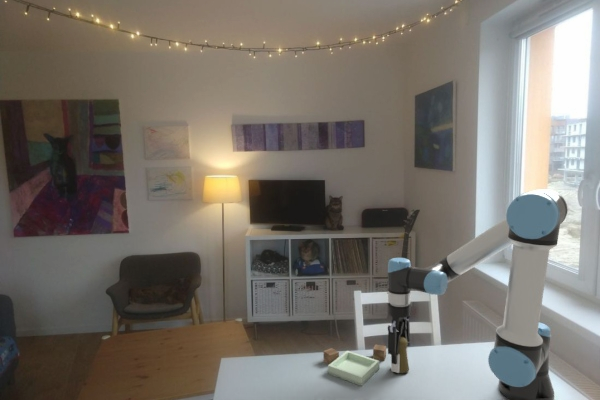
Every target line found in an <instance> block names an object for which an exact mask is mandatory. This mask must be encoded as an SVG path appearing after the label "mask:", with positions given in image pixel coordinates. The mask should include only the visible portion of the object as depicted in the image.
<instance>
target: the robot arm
mask: <svg viewBox="0 0 600 400" xmlns="http://www.w3.org/2000/svg"><path fill="white" fill-rule="evenodd" d="M568 210H569V209H568V204H567V201H566V199H565V198H564V197H563V196H562V195H561V194H560V193H559V192H556V191H555V190H551V189H549V188H548V189H546V188H540V189H539V188H538V189H535V190H532V191H531V190H530V191H527V192H523V193H520V194H519V195H517V196H516V197H515V198H514V199H513V200H512V201H511V202H510V203H509V205H508V207H507V209H506V215H505V216H506V217H505V218H504V219H502V220H501V221H499V222H498V223H496V224H494V225H493V226H491V227H490V228H488V229H486V230H485V231H484V232H481V234H479V235H477V236H476V237H474V238H472V239H471V240H469V241H468V242H466V243H465V244H463V245H462V246H461V247H459V248H458V249H456V250H455V251H453V252H451V253H450V254H448V255H447V256H445V257H443V258H442V259H440V260H439V261H437V262H434V263H433V264H432V265H430V266H427V267H425V268H424V267H423V268H422V267H416V266H412V265H411V260H410V259H408V258H405V257H393V258H390V259H389V260H388V262H387V263H388V264H387V272H386V273H387V292H386V294H387V302H388V303H387V313H388V315H389V316H390V317H391V318H392V319H391V323H390V324H391V325H387V331H388V336H387V338H388V339H387V354H388V355H390V358H391V359H390V364H391V365H390V366H391V367H390V369H391V370H390V372H394V373H397V374H400V373H399V372H400V354H398V351H399V342H400V337H404V338H405V339H406V340H407V342H408V345H407V347H406V352H407V353H408V347H410V345H411V343H410V341H411V337H410V336H411V334H410V333H411V332H410V329H411V328H410V327H411V326H410V320H411V319H410V318H411V302H412V301H411V298H412V297H411V290H412V291H417V292H420V293H427V294H429V295H435V296H436V295H437V296H442V295H444V294H445V293H446V290H447V289H448V284H449V283H450V282H452V281H454V280H455V279H456V278H458V277H460V276H461V275H462V274H463V275H464V273H466V272H468V271H469V270H471V269H473V268H475V267H476V266H479V265H480V264H482V263H483V262H485V261H487V260H488V259H490V258H492V257H493V256H495V255H496V254H498V253H500V252H501V251H503V250H505V249H507V248H509V247H510V246H512V252H511V253H512V254H511V261H510V267H509V268H510V269H509V276H508V283H507V290H506V291H507V293H506V298H505V307H504V314H503V322H502V324H501V325H498V326H497V327H496V330H495V337H494V338H495V339H494V344H493V345H494V346H493V348H492V349H491V350H490V352H489V354H488V358H487V359H488V360H487V361H488V362H487V363H488V367H489V369H490V371H491V372H492V373H493V374H494V376H495V377H496V379H498V389H499V391H500V393H501V394H502V395H503V396H504V397H506V398H507V399H509V400H555V391H554V388H553V385H552V381H551V378H550V373H549V371H550V370H549V369H550V354H551V339H552V332H551V331H552V330H551V327H549V326H548V325H547V324H545V323H542V322H540V320H541V319H540V318H541V310H542V303H543V298H544V290H545V283H546V275H547V269H548V264H549V263H548V262H549V256H550V250H552V249H553V248H555V247H557V245H558V240H559V235H560V229H561V224H562V223H563V222H564V221H565V219H566V217H567V215H568Z"/></svg>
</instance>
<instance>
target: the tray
mask: <svg viewBox="0 0 600 400" xmlns="http://www.w3.org/2000/svg"><path fill="white" fill-rule="evenodd" d="M379 370H380V360H375V359H373V357H372V358H371V357H368V356H365V355H362V354H359V353H357V352H352V351H349V350H346V351H345V352H343V353H342V354H341V355H339V357H338V358H337V359H336V360H334V361H333V362H332V363H331V364H329V365H328V364H327V374H329V376H330V375H331V376H334V377H336V378H339V379H341V380H344V381H347V382H350V383H352V384H354V385H358V386H361V387H362V386H363V385H365V383H367V381H368V380H370V379H371V378H372V377H373V376H374V375H375V373H377V372H378V371H379Z"/></svg>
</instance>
